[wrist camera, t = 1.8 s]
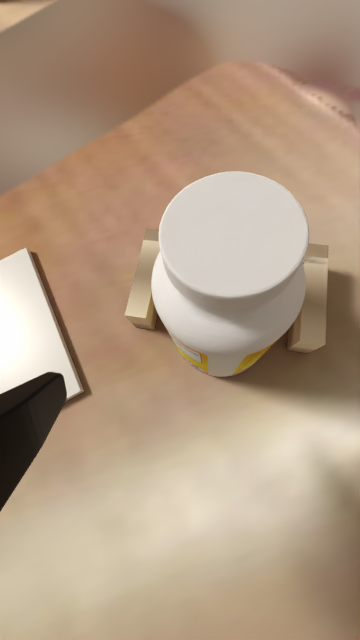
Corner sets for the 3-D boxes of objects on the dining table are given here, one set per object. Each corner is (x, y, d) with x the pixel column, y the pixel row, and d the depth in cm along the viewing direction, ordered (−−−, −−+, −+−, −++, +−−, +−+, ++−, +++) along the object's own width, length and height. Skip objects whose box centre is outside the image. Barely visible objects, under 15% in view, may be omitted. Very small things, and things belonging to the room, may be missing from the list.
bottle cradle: (308, 353, 19) (325, 344, 17) (135, 327, 21) (124, 315, 19) (312, 266, 21) (328, 245, 19) (154, 250, 23) (146, 228, 20)
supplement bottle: (264, 295, 21) (341, 145, 9) (263, 382, 19) (358, 342, 7) (180, 290, 22) (144, 147, 10) (170, 372, 20) (111, 323, 8)
